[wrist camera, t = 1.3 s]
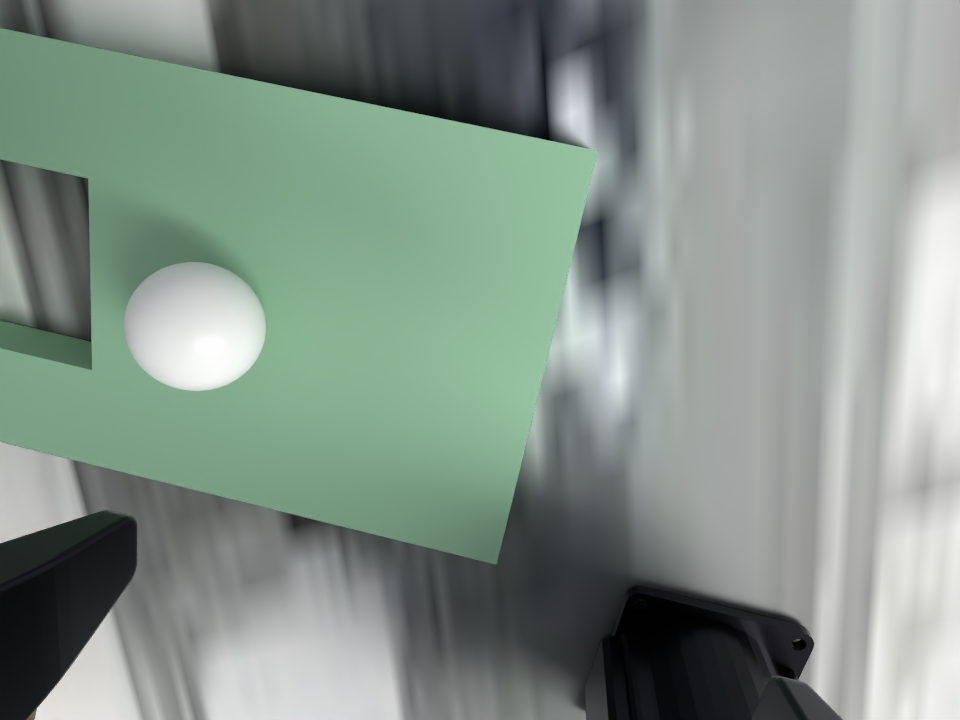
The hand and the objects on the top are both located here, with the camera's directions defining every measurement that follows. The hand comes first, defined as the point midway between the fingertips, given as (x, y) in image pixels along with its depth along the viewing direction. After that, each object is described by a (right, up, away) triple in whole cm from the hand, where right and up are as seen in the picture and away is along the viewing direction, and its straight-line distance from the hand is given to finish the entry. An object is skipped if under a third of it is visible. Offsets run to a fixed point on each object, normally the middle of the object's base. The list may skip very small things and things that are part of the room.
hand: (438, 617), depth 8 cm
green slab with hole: (-8, +6, +12) cm, 16 cm away
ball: (-7, +4, +8) cm, 12 cm away
